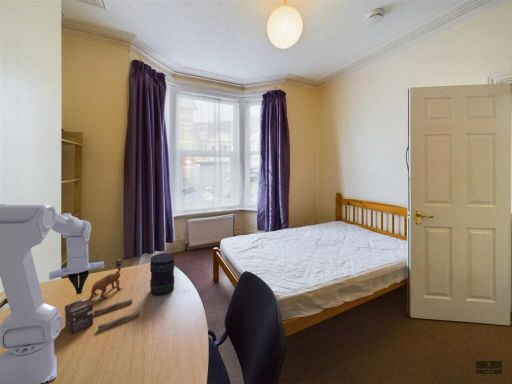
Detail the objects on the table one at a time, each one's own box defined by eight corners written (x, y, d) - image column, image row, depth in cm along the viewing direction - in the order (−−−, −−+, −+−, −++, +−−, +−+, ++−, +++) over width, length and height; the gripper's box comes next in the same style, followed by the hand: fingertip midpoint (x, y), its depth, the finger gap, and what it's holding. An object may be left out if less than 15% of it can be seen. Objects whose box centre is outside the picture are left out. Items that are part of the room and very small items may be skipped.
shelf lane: (98, 331, 71) (98, 327, 70) (94, 314, 79) (94, 310, 79) (139, 316, 79) (139, 312, 79) (131, 302, 87) (131, 298, 87)
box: (70, 335, 69) (70, 313, 68) (65, 326, 72) (64, 305, 72) (93, 324, 74) (93, 304, 73) (87, 317, 77) (86, 297, 77)
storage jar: (173, 282, 103) (174, 252, 102) (175, 293, 94) (175, 260, 93) (150, 286, 99) (150, 254, 97) (149, 298, 90) (149, 263, 89)
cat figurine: (84, 312, 81) (81, 277, 79) (73, 307, 83) (70, 273, 81) (128, 287, 97) (127, 258, 96) (118, 283, 100) (116, 255, 98)
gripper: (101, 247, 82) (102, 281, 83) (48, 256, 72) (50, 294, 73) (105, 252, 77) (105, 289, 78) (48, 263, 67) (50, 304, 68)
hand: (79, 292), depth 75 cm, fingers closed
